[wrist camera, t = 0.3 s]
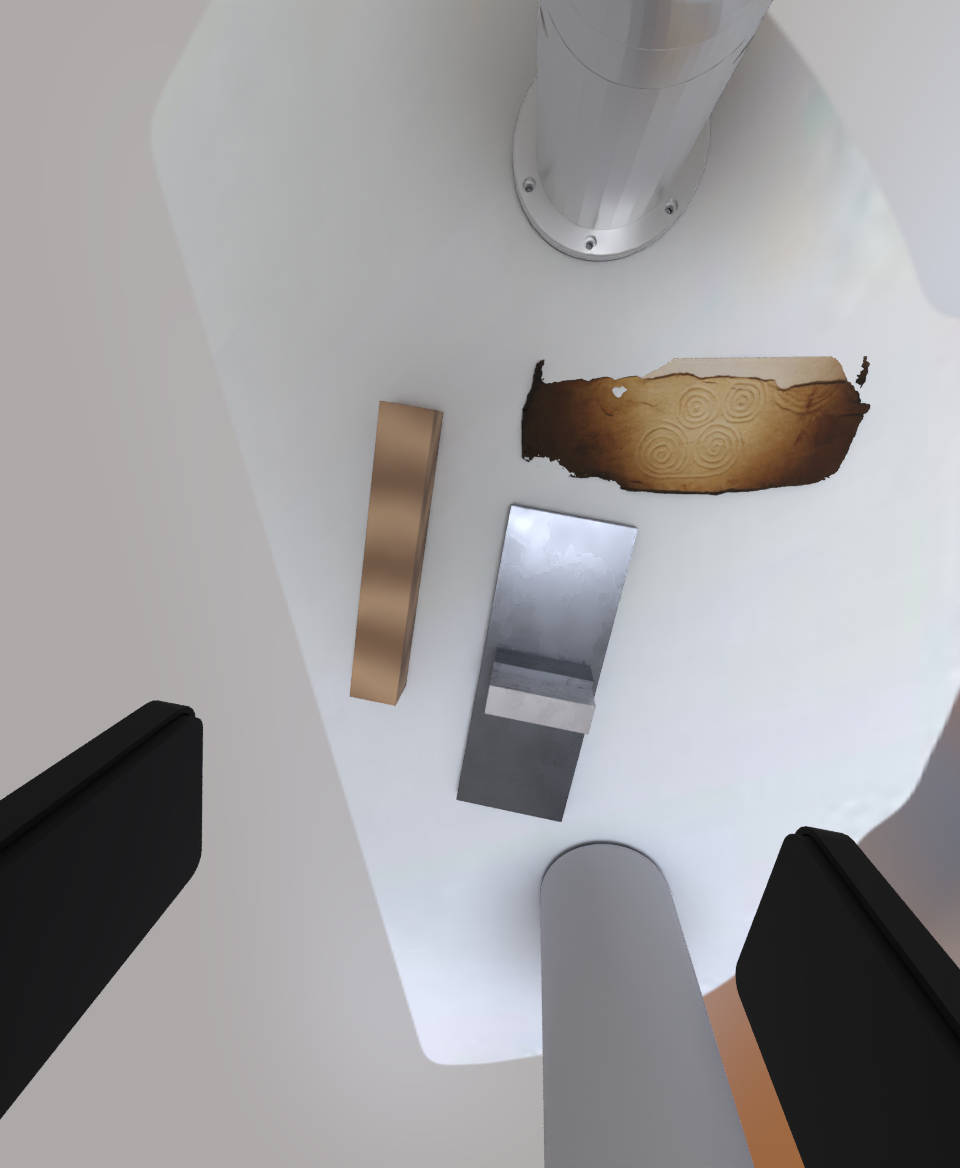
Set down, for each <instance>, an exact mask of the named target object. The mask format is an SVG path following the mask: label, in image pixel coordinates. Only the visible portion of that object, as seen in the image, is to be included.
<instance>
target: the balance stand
mask: <svg viewBox="0 0 960 1168" xmlns="http://www.w3.org/2000/svg"><path fill="white" fill-rule="evenodd" d="M637 531H638V529H637V528H636V527H635V526H629V525H624V524H618V523H613V522H607V521H602V520H597V519H591V518H586V517H580V516H575V515H569V514H564V513H558V512H553V511H547V510H542V509H537V508H531V507H526V506H520V505H515V504H512V505H511V510H510V515H509V520H508V526H507V531H506V536H505V542H504V547H503V552H502V558H501V563H500V569H499V574H498V579H497V585H496V590H495V595H494V601H493V606H492V611H491V617H490V622H489V627H488V633H487V638H486V644H485V649H484V654H483V660H482V665H481V670H480V676H479V681H478V686H477V692H476V697H475V702H474V708H473V713H472V719H471V724H470V729H469V735H468V740H467V745H466V751H465V756H464V761H463V767H462V772H461V778H460V783H459V788H458V794H457V799H456V800H460V801H465V802H469V803H474V804H479V805H483V806H488V807H493V808H498V809H502V810H507V811H512V812H516V813H521V814H526V815H530V816H535V817H540V818H545V819H549V820H554V821H559V822H562V818H563V814H564V810H565V807H566V803H567V799H568V795H569V791H570V787H571V784H572V780H573V776H574V772H575V768H576V765H577V761H578V757H579V753H580V749H581V745H582V742H583V738H584V734H588V733H589V729H590V726H591V722H592V718H593V714H594V710H595V702H594V696H595V692H596V688H597V684H598V680H599V677H600V673H601V669H602V665H603V661H604V658H605V654H606V650H607V646H608V642H609V638H610V635H611V631H612V627H613V623H614V619H615V616H616V612H617V608H618V604H619V600H620V596H621V593H622V589H623V585H624V581H625V577H626V573H627V570H628V566H629V562H630V558H631V554H632V551H633V547H634V543H635V539H636V535H637Z"/></svg>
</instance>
